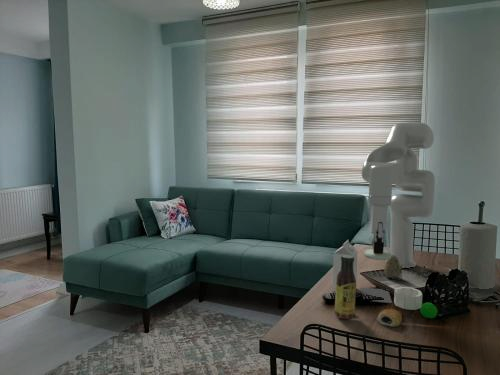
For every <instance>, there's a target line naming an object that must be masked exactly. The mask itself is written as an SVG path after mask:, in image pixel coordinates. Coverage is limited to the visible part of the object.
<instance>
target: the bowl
mask: <svg viewBox="0 0 500 375" xmlns="http://www.w3.org/2000/svg"><path fill="white" fill-rule="evenodd" d="M393 302H394V306H396V307H398V308H401V309H404V310H409V311H416V310H418V309H419V310H420V308H421V306H422V304H423V293H422V291H421V290H419V289H417V288H414V287H411V286H410V287H408V286H407V287H406V286H399V287H396V288H394V296H393Z"/></svg>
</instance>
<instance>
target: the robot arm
mask: <svg viewBox="0 0 500 375" xmlns="http://www.w3.org/2000/svg"><path fill="white" fill-rule="evenodd" d="M434 137H435V135H434V132H433V130H432V128H431V127H430V126H429V125H428V124H427V123H423V122H399V123H396V124H395V125H392V127H391V129H390V130H389V133H388V135H387V138H386V141H385V143H384V144H383V145H380V146H379V147H377V148H375V149H374V150H372V151H371V152H369V153H368V154H367V156H366V158H365V160H364V163H363V165H362V169H361V178H362V179H363V180H364V181H365V182H366V183H368V205H370V206H371V207H370V217H369V219H370V220H369V230H370V233H371V234H372V235H373V236H374V235H375V242H374V253H383V250H384V247H385V246H384V243H385V242H384V235H386V234H387V226H388V207H389V211H390V212H389V213H390V238H389V239H390V240H389V245H390V246H389V252H390V253H391V255H394V256H396V257H397V259H398V261H399V264H400V266H402V267H414V268H415V267H416V266H417V263H416V261H415V260H413V251H414V236H415V235H414V233H415V232H414V230H415V227H414V224H413V222H412V220H411V219H410V218H411V217H412V218H420V219H421V218H422V219H428V218H430V217H431V216H432V215H433V212H434V199H435V184H436V179H435V175H434V173H433V171H431V170H425V169H418V156H417V155H416V154H415V152H414V151H413V149H416V150H417V149H420V150H421V149H423V150H425V149H426V150H427V149H430V148H431V147H432V145H433V143H434V141H435V140H434ZM394 161H396V162H394ZM393 185H394V186H395V189H397V190H398V191H403V192H411V193H412V192H413V193H415V192H416V193H421V194H422V195H419V194H407V193H397V194H394V195H392V193H393V191H392V190H393ZM377 235H378V236H377ZM373 240H374V238H372V241H373ZM386 262H387V260H385V263H386Z"/></svg>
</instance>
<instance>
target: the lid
mask: <svg viewBox="0 0 500 375" xmlns="http://www.w3.org/2000/svg"><path fill="white" fill-rule="evenodd" d="M377 236H378V235H377ZM373 239H374V240H373ZM373 239H372V248H370V249H365V251H364V257H366V258H367V259H370V260H373V261H386V260H388V259H390V258H391V253H390V251H388V250H384V249H383V253H374V242H375V235H374V234H373Z"/></svg>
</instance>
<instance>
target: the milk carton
mask: <svg viewBox="0 0 500 375" xmlns="http://www.w3.org/2000/svg"><path fill="white" fill-rule="evenodd" d="M342 255H352V256H354V262H353V272H354V276H355V280H356V282H357V279H358V278H357V274H358V273H357V272H358V250H357V249H356V248H355V246H354V245H352V244H351V243H350V242H349V239H347V240H346V241H345V242H344V243H343V244H342V246H341V247H339V248H338V249H337V250H336V251H335V252H333V260H332V261H333V262H332V267H333V268H332V292H334V293H336V283H337V275H338V273H339V272H340V270H341V262H342V261H341V256H342Z"/></svg>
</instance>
